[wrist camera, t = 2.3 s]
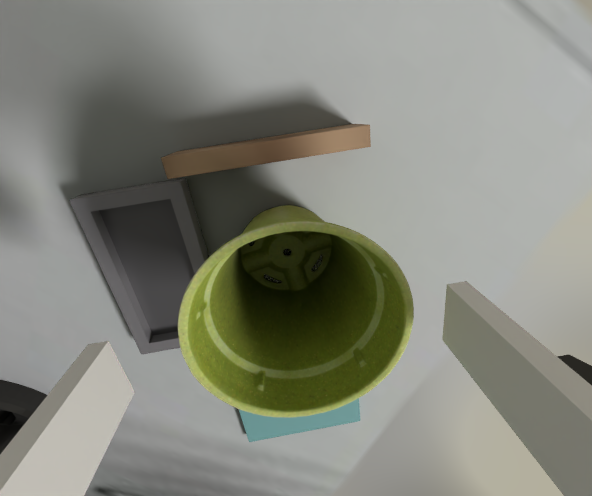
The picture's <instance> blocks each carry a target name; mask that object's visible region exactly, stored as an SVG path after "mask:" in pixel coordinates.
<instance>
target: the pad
mask: <svg viewBox="0 0 592 496" xmlns="http://www.w3.org/2000/svg"><path fill="white" fill-rule="evenodd" d="M239 412H240V415H241V418H242V421H243V425H244V428H245V431H246V434H247V437H248V440H249V442H253V441H258V440H263V439H268V438H273V437H279V436H284V435H289V434H294V433H300V432H305V431H310V430H315V429H321V428H326V427H331V426H336V425H341V424H347V423H352V422H357V421H360V409H359V398H358V399H356V400H354V401H352V402H350V403H348V404H346V405H344V406H342V407H339V408H337V409H334V410H331V411H327V412H324V413H319V414H314V415H310V416H302V417H268V416H262V415H257V414H253V413H250V412H246V411H243V410H240V409H239Z"/></svg>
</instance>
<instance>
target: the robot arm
mask: <svg viewBox="0 0 592 496" xmlns="http://www.w3.org/2000/svg"><path fill="white" fill-rule="evenodd" d="M443 341H444V342H445V344H446V345H447V346H448V347H449V349H450V350H451V351H452V353H453V354H454V355H455V356H456V358H457V359H458V360H459V361H460V363H461V364H462V365H463V367H464V368H465V369H466V370H467V372H468V373H469V374H470V376H471V377H472V378H473V380H474V381H475V382H476V383H477V384H478V386H479V387H480V389H481V390H482V391H483V392H484V394H485V395H486V396H487V397H488V399H489V400H490V401H491V403H492V404H493V405H494V406H495V408H496V409H497V410H498V412H499V413H500V414H501V415H502V417H503V418H504V419H505V421H506V422H507V423H508V424H509V426H510V427H511V428H512V430H513V431H514V432H515V433H516V435H517V436H518V437H519V439H520V440H521V441H522V442H523V444H524V445H525V446H526V448H527V449H528V450H529V451H530V453H531V454H532V455H533V457H534V458H535V459H536V460H537V462H538V463H539V464H540V466H541V467H542V468H543V469H544V470H545V472H546V473H547V475H548V476H549V477H550V478H551V480H552V481H553V482H554V484H555V485H556V486H557V487H558V489H559V490H560V491H561V492H562V494H563V495H564V496H592V366H591V365H589V364H587V363H585V362H583V361H581V360H579V359H576V358H575V357H573V356H571V355H564V356H558V357H557V356H556V355H554V354H553V353H552V352H551V351H549V350H548V349H547V348H546V347H545V346H543V345H542V344H541V343H540V342H539V341H538V340H536V339H535V338H534V337H533V336H531V335H530V334H529V333H528V332H527V331H525V330H524V329H523V328H522V327H521V326H519V325H518V324H517V323H516V322H514V321H513V320H512V319H511V318H509V316H507V315H506V314H505V313H504V312H503V311H501V310H500V309H499V308H498V307H497V306H495V305H494V304H493V303H492V302H491V301H489V300H488V299H487V298H486V297H485V296H483V295H482V294H481V293H480V292H479V291H477V290H476V289H475V288H474V287H473V286H471V285H470V284H469V283H468V282H467V281H465V282H459V283H453V284H447V291H446V303H445V315H444V328H443ZM134 393H135V392H134V390H133V388H132V386H131V384H130V382H129V380H128V378H127V376H126V374H125V372H124V370H123V368H122V366H121V364H120V363H119V361H118V359H117V357H116V355H115V353H114V351H113V349H112V347H111V345H110V343H109V341H106V342H100V343H94V344H88V345H87V347H86V348H85V349H84V350H83V352H82V353H81V354H80V355H79V357H78V358H77V359H76V360H75V362H74V363H73V364H72V365H71V367H70V368H69V369H68V370H67V372H66V373H65V374H64V375H63V377H62V378H61V379H60V380H59V382H58V383H57V384H56V385H55V387H54V388H53V389H52V390H51V392H50V393H49V394H48V395H46V394H44V393H42V392H39V391H37V390H34V389H32V388H29V387H26V386H23V385H19V384H16V383H12V382H8V381H3V380H0V496H84V495H85V493H86V491H87V489H88V486H89V484H90V482H91V480H92V478H93V476H94V474H95V472H96V470H97V468H98V466H99V464H100V462H101V460H102V458H103V456H104V454H105V452H106V450H107V448H108V446H109V444H110V442H111V440H112V438H113V436H114V433H115V431H116V429H117V427H118V425H119V423H120V421H121V419H122V417H123V415H124V413H125V411H126V409H127V407H128V405H129V403H130V401H131V399H132V397H133V395H134Z"/></svg>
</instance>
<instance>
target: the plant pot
mask: <svg viewBox="0 0 592 496" xmlns="http://www.w3.org/2000/svg"><path fill="white" fill-rule="evenodd" d="M254 240H255V241H254ZM252 241H254V245H253V246H250V245H249V242H252ZM285 249H289V250H291V254H290V255H289V256H286V255H284V254H283V251H284V250H285ZM320 255H322V262H321V264H320V266H319V268H318V269H317V270H315V271H314V272H313V271H311V269H312V267H313V266H314V265H315V263H316V262H317V260H318V258H320ZM264 274H266V275H269V276H270V277H272V278H274V279H276V280H280V281H282V282H281V283H279V284H278V283H273V282H270V281H268V280H266V279H265V278H264ZM413 311H414V307H413V299H412V295H411V291H410V287H409V285H408V282H407V280H406V278H405V276H404V274H403V272H402V270H401V269H400V267H399V266H398V264H397V263H396V262H395V260H394V259H393V258H392V257H391V256H390V255H389V254H388V253H387V252H386V251H385V250H384V249H383V248H381V247H380V246H379V245H378V244H376V243H375V242H374V241H372V240H370V239H369V238H367V237H366V236H364V235H362V234H360V233H358V232H356V231H353V230H351V229H348V228H346V227H343V226H339V225H336V224H332V223H327V222H324V221H323V220H322V219H321V218H319V217H318V216H317V215H316V214H314V213H313V212H311V211H309V210H307V209H304V208H301V207H297V206H291V205H284V206H278V207H274V208H271V209H268V210H266V211H264V212H261V213H260V214H258V215H257V216H256V217H254V218H253V219H252V220H251V222H250V223H249V224H248V225H247V227H246V228H245V230H244V231H243V233H242V234H241V235H239V236H237V237H235V238H234V239H232V240H230V241H229V242H227V243H225V244H224V245H223V246H221V247H220V248H219V249H218V250H216V251H215V252H214V253H213V254H212V255H211V256H210V257H209V258H208V259H207V260H206V261H205V262H204V263H203V264H202V265H201V267H200V268H199V269H198V270H197V272H196V273H195V275H194V276H193V278H192V279H191V281H190V283H189V285H188V287H187V289H186V291H185V293H184V296H183V299H182V302H181V305H180V310H179V316H178V336H179V344H180V348H181V352H182V354H183V357H184V359H185V361H186V363H187V365H188V367H189V369H190V371H191V373H192V374H193V376H194V377H195V378H196V379H197V380H198V381H199V383H200V384H201V385H202V386H203V387H205V389H206V390H208V391H209V392H210V393H212V394H213V395H214V396H216V397H217V398H219V399H220V400H222V401H224V402H226V403H227V404H229V405H231V406H233V407H235V408H237V409H240V410H243V411H246V412H250V413H253V414H257V415H262V416H268V417H302V416H310V415H314V414H319V413H324V412H327V411H331V410H334V409H337V408H339V407H342V406H344V405H346V404H348V403H350V402H352V401H354V400H356V399H358V398H359V397H361V396H363V395H365V394H366V393H368V392H369V391H370V390H372V389H373V388H374V387H376V386H377V385H378V384H379V383H380V382H381V381H382V380H383V379H385V378H386V376H387V375H388V374H389V373H390V372H391V371H392V369H393V368H394V367H395V365H396V364H397V362H398V361H399V359H400V357H401V356H402V354H403V352H404V350H405V348H406V346H407V344H408V341H409V337H410V333H411V329H412V325H413V317H414V314H413Z"/></svg>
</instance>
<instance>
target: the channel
mask: <svg viewBox="0 0 592 496" xmlns="http://www.w3.org/2000/svg"><path fill="white" fill-rule="evenodd" d="M365 147H370V125H364V124H348V125H342V126H336V127H329V128H323V129H317V130H310V131H304V132H298V133H291V134H285V135H278V136H272V137H266V138H259V139H253V140H247V141H240V142H234V143H228V144H221V145H215V146H209V147H202V148H196V149H190V150H183V151H177V152H175V153H172V154H170V155H167V156H164V157H162V158H161V160H162V163H163V166H164V169H165V172H166V175H167V179H172V178H178V177H184V176H190V175H197V174H203V173H209V172H215V171H222V170H228V169H234V168H240V167H246V166H253V165H259V164H265V163H271V162H278V161H284V160H290V159H296V158H303V157H309V156H315V155H321V154H328V153H334V152H340V151H346V150H353V149H359V148H365Z"/></svg>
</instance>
